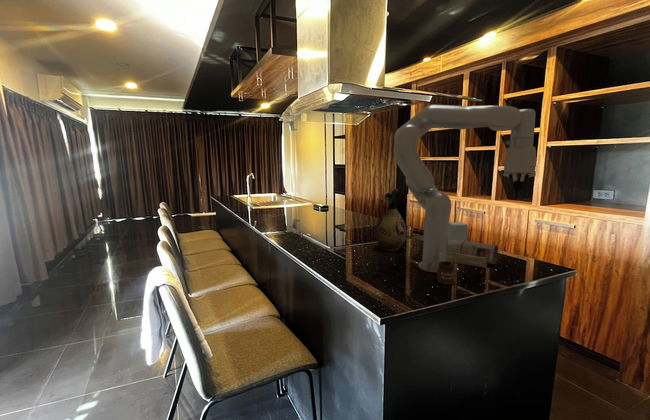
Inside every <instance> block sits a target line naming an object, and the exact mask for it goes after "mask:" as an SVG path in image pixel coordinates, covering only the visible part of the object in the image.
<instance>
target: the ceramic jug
mask: <svg viewBox="0 0 650 420" xmlns="http://www.w3.org/2000/svg"><path fill="white" fill-rule="evenodd" d="M400 197H401V191H400V189H398V188H396V189H393V190H392V191H391V193H389V192H387V193H385V194H384V200H385V201H386V202H388V203H389V206H388V207H387V209H386V210H385V211H384V213H383V214H382V215H381V216H380V218H379V220H378V222H377V224H376V227H375V230H374V231H375V232H374V236H375V240H376V242H377V244H378V245H379V249H380V250H382V251H385V252H396V251H399V250H398V249H400V247H401V246H402V245H403V244H404V243H405V241H406V240H407V239H406V238H407V236H408V235H407V226H406V223H405V220H404V219H403V217H402V215H401V214H400V212H399V211H398V207H399V202H400V199H401V198H400Z"/></svg>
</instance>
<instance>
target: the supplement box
mask: <svg viewBox="0 0 650 420" xmlns="http://www.w3.org/2000/svg"><path fill="white" fill-rule="evenodd" d="M468 226H469V225H468V224H466V223H465V222H462V221H461V222H460V221H458V222H453V221H452V222H449V233H448V241H449V240H459V241H468V229H469V227H468Z"/></svg>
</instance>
